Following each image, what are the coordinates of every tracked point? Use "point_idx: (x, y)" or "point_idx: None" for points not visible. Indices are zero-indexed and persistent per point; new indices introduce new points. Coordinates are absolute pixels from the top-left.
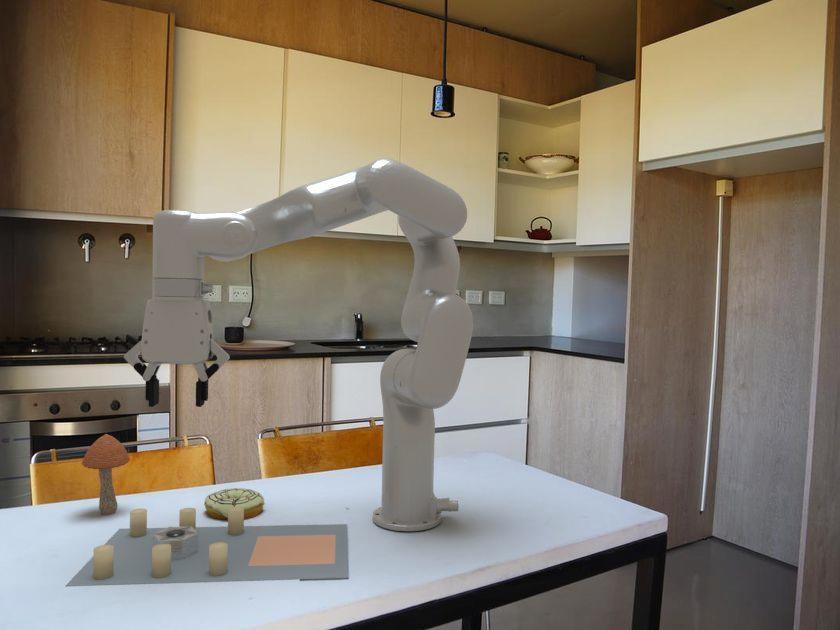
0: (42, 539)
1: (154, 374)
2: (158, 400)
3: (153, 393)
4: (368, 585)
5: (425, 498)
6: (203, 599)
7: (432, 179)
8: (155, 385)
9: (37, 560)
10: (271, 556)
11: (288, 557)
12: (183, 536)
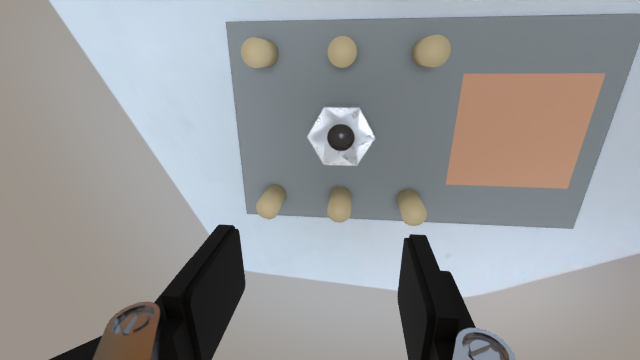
0: (135, 60)
1: (160, 352)
2: (234, 237)
3: (226, 324)
4: (591, 244)
5: None
6: (397, 252)
7: None
8: (209, 330)
9: (176, 138)
10: (479, 156)
11: (504, 163)
12: (355, 150)
